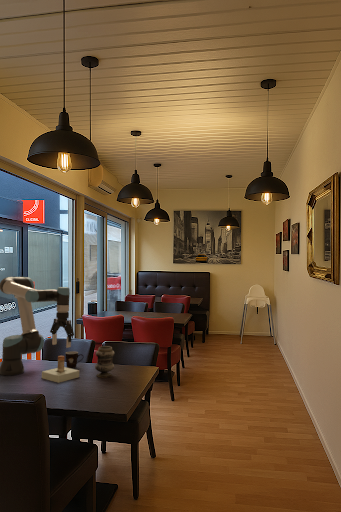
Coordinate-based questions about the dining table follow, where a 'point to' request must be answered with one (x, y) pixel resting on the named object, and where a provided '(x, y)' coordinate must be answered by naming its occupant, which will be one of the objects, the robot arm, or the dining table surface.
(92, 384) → the dining table surface
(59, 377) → the socket block
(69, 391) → the dining table surface
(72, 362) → the coffee mug
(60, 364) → the peg
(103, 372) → the apothecary jar
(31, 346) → the robot arm
